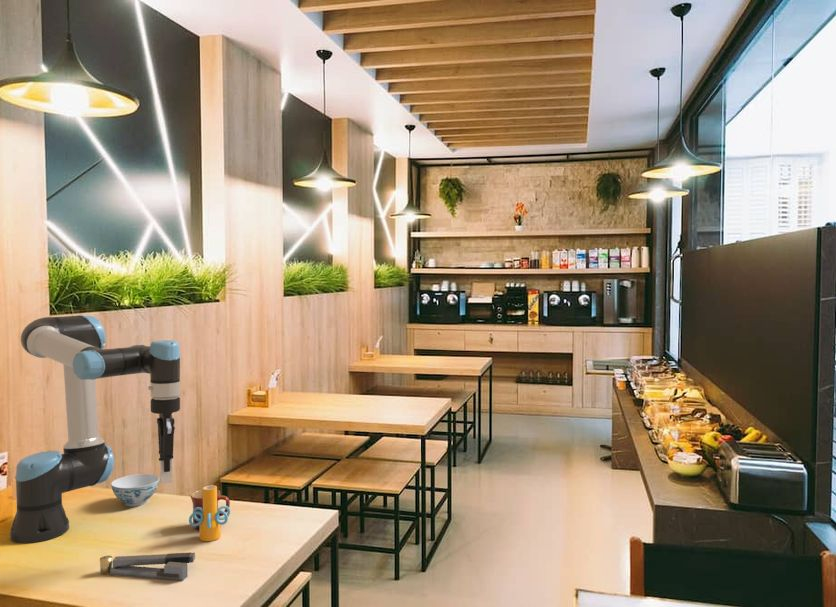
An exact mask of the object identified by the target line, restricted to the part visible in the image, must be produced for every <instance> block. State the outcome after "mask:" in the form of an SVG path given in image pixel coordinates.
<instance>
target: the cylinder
mask: <svg viewBox="0 0 836 607" xmlns="http://www.w3.org/2000/svg"><path fill="white" fill-rule="evenodd" d="M202 490H203V509H202V508H200V507H196V508H195V509H194V510H193V509H192V513H191V514H190V516H189V517H188V523H189V525H190V526H191V527H194V526H199V529H198V530H199V532H198V533H199V540H200V541H202V542H214V541H217V540H219V539H220V538H221V537H222V531H221V530H222V529H221V527H222V526H224V525H226V524H227V523H228V521H229V517H230V515H231V508H230V507H228V506H226V505H221V506H219V507H218V510H217V490H218V486H217V485H212V484H211V485H205V486H203V487H202ZM223 509H227V513H226V512H224V511H225V510H223ZM196 510H200V511H201V512H202V513H201V512H196ZM219 513H222V514H224V515H223V516H219ZM196 514H199V515H200V516H201V519H199V518H197V517H196ZM193 517H194V519H195V520H196V521H199V522H198V523H196V524H194V523H193Z"/></svg>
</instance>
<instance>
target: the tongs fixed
mask: <svg viewBox="0 0 836 607" xmlns="http://www.w3.org/2000/svg"><path fill="white" fill-rule="evenodd" d="M99 566H100V567H99V571H100V572H99V573H100V575H102V576H105V575H106V576H107V575H110V576H119V577H132V578H144V579H145V578H146V579H153V580H154V579H156V580H165V581H166V580H168V581H179V582H183V581H184V580H186V578H187V577H188V563H180V562H168V563H167V564H164V566H163V567H161V568H160V567H149V566H139V565H136V566H118V567H113V556H112V555H104V556H101V557H100V558H99Z"/></svg>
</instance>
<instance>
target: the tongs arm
mask: <svg viewBox="0 0 836 607" xmlns="http://www.w3.org/2000/svg"><path fill="white" fill-rule="evenodd" d="M195 560H196V552H176V553H175V552H174V553H173V552H172V553H163V554H162V553H161V554H160V553H159V554H157V553H156V554H143V555H141V554H140V555H121V556H120V555H119V556H115V557H114V558H113V559H112V567H118V566H153V565H154V566H155V565H166V564H167V563H168V562H180V563H187V564H189V563H194V561H195Z"/></svg>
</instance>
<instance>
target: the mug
mask: <svg viewBox="0 0 836 607" xmlns="http://www.w3.org/2000/svg"><path fill="white" fill-rule="evenodd" d="M189 496H190V500H191V501H192V511H193V510H194V509H195V508H196V507H200V508H202V509H203V489H197V490H196V491H193V492H192V493H190V495H189ZM220 500H224V501H225V506H228V507H229V508H230V507H231V506H230V505H231V500H230V498H229V497H228V496H226V495H221V490H219V489H217V510H218V508H219V501H220ZM224 509H225V508H224ZM223 511H224V512H226V514H227V513H228V511H227V509H225V510H223ZM196 512H201V511H200V510H196ZM201 513H202V512H201ZM219 516H220V517H224V514H222V513H219ZM196 517H197V518H199V519H201V516H200V515H199V514H196ZM198 522H199V521H196V520H195V519H194V517H192V523H194V524H196V523H198ZM193 527H194V528H195V529H196V530H199V526H193Z"/></svg>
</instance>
